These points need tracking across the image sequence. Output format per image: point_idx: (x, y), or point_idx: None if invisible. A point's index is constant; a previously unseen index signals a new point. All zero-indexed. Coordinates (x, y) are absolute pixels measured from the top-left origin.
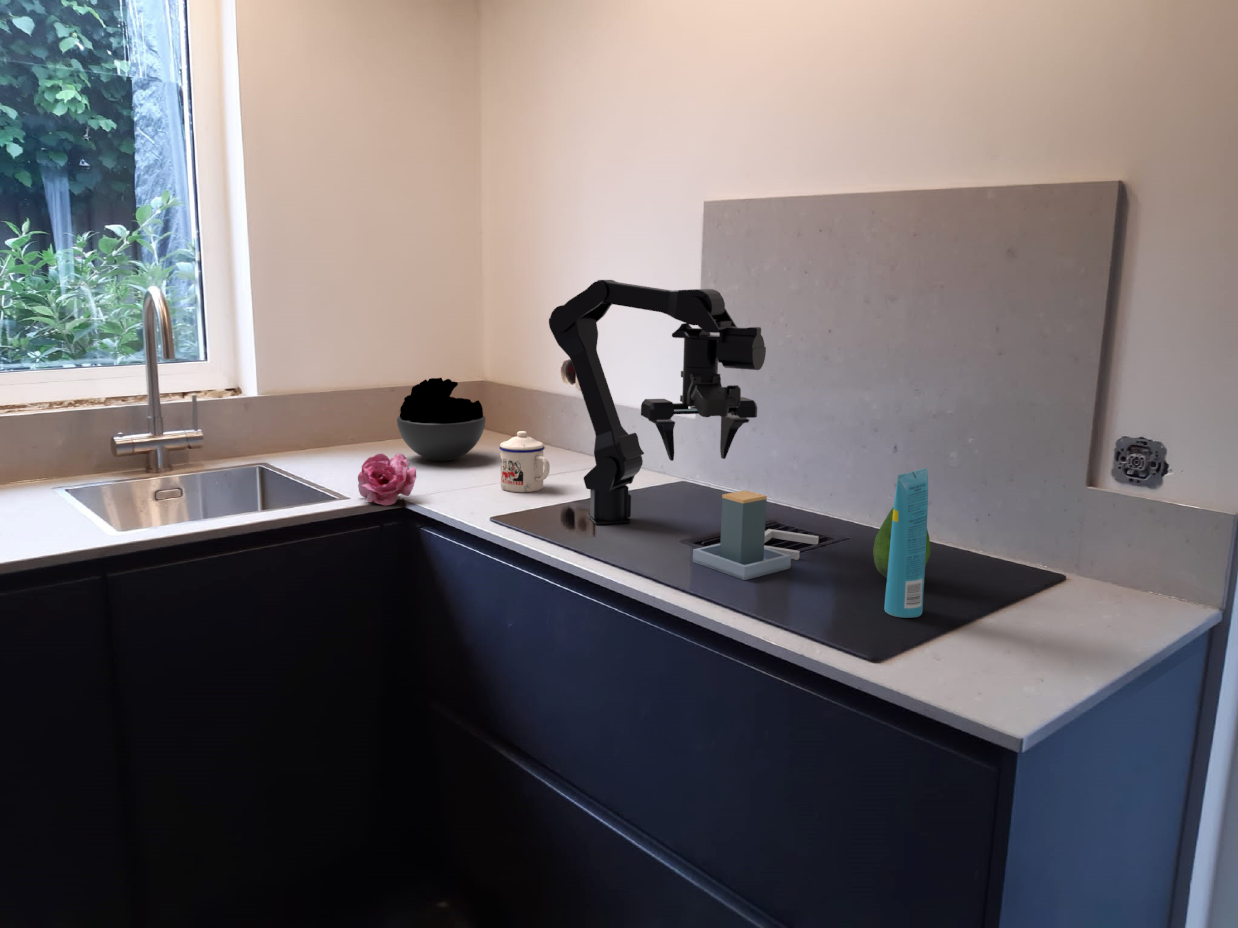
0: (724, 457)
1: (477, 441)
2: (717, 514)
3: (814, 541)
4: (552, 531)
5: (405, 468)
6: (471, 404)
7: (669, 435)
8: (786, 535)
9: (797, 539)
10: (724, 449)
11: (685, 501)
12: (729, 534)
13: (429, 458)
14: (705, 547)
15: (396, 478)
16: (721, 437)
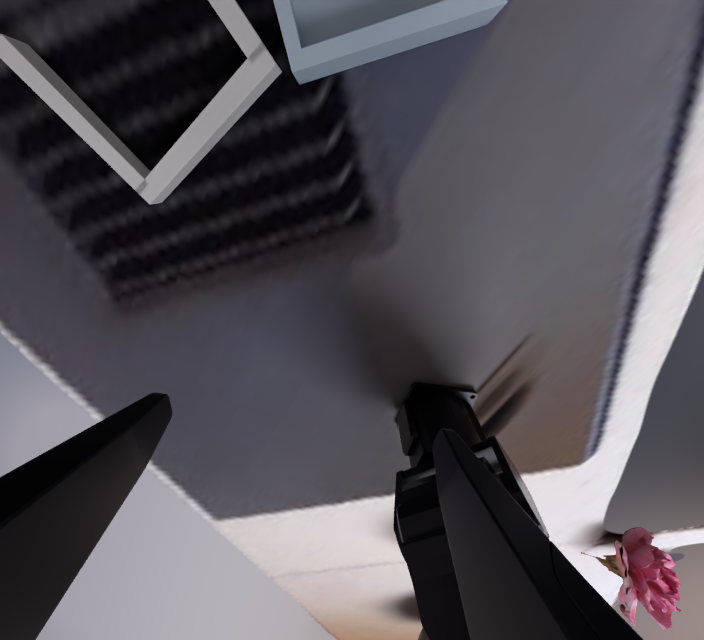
0: (155, 395)
1: (427, 636)
2: (226, 381)
3: (25, 48)
4: (565, 384)
5: (644, 591)
6: None
7: (591, 617)
8: (110, 140)
9: (83, 105)
10: (122, 433)
11: (254, 452)
12: None
13: None
14: (454, 8)
15: (656, 572)
16: (79, 553)
